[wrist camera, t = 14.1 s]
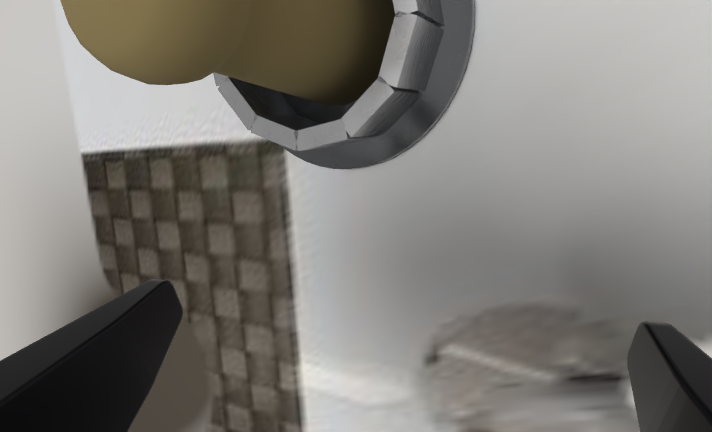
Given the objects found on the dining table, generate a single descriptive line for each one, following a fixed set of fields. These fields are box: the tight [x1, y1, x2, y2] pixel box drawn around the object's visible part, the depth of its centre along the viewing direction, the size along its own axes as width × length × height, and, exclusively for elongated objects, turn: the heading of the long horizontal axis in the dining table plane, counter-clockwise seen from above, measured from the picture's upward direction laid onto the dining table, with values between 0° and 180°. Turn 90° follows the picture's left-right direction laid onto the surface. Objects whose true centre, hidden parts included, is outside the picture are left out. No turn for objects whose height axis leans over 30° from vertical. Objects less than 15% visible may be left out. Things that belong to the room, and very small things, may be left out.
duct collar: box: [213, 0, 475, 169], centre depth 18 cm, size 12×12×4 cm
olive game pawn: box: [61, 0, 395, 106], centre depth 15 cm, size 6×6×11 cm
